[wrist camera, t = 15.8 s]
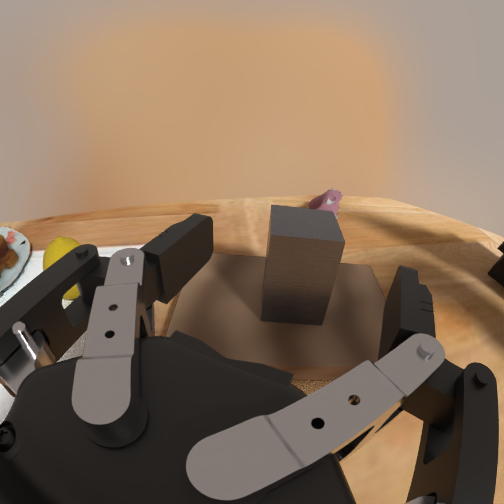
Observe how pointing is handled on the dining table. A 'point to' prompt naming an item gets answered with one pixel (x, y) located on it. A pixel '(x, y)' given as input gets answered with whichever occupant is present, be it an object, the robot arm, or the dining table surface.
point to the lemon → (56, 252)
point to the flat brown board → (281, 334)
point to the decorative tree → (498, 267)
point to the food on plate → (12, 255)
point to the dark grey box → (300, 265)
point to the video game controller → (327, 201)
